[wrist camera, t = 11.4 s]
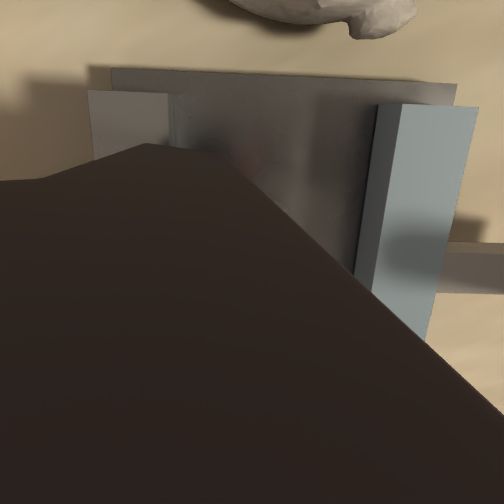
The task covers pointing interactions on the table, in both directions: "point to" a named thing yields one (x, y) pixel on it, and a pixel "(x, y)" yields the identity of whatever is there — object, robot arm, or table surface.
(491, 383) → the table surface
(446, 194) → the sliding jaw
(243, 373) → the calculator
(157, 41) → the table surface
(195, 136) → the vise
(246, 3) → the dish
